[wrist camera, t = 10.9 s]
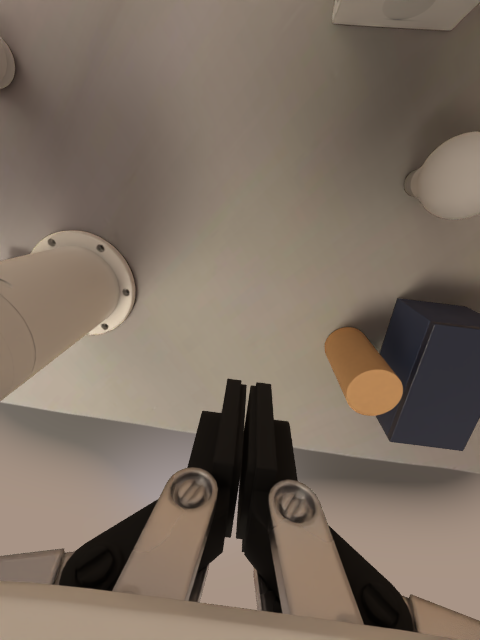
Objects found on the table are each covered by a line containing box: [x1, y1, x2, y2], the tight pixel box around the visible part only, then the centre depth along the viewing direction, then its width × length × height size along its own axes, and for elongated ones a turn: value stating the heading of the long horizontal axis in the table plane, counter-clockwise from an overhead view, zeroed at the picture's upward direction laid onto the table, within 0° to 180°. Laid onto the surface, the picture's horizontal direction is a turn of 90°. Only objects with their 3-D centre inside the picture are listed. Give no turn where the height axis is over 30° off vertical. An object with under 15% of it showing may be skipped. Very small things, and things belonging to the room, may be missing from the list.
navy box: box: [376, 298, 480, 451], centre depth 34 cm, size 8×14×8 cm, turn 174°
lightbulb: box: [404, 132, 480, 220], centre depth 26 cm, size 6×6×11 cm
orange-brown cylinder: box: [325, 327, 403, 416], centre depth 33 cm, size 11×5×10 cm
